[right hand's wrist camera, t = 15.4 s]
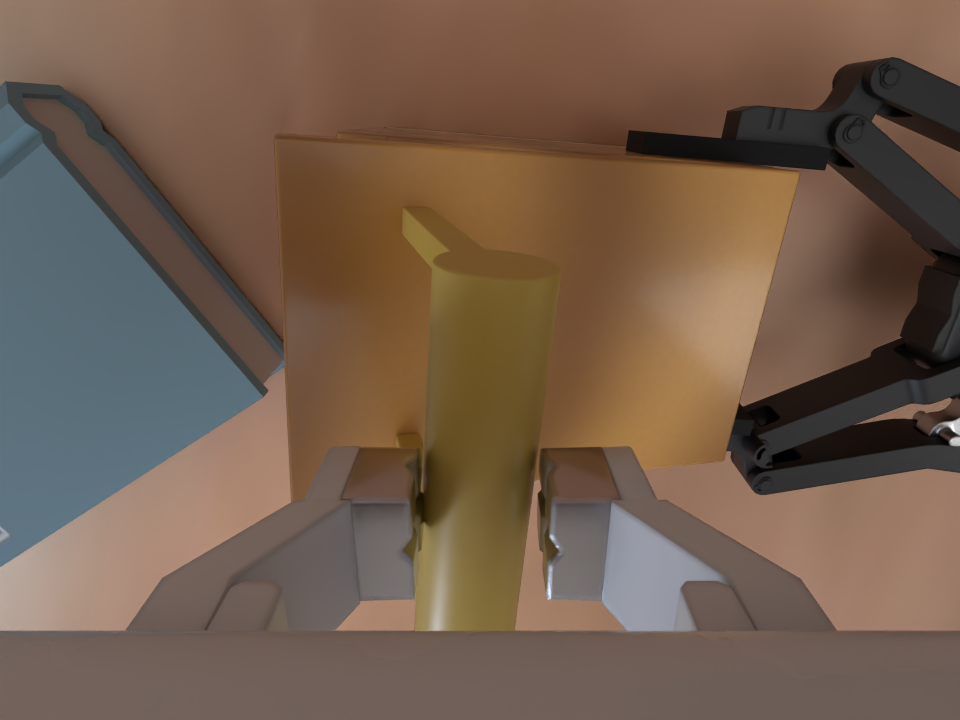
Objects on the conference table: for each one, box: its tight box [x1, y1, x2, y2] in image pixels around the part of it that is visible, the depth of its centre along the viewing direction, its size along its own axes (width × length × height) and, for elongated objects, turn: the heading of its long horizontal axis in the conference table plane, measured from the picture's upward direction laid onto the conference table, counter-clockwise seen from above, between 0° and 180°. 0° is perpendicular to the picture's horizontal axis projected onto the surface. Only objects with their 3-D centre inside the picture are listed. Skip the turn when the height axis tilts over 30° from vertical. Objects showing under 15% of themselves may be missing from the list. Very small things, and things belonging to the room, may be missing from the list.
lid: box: [274, 133, 800, 631], centre depth 15 cm, size 15×10×9 cm
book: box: [0, 82, 285, 567], centre depth 30 cm, size 23×16×5 cm
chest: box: [337, 127, 773, 168], centre depth 25 cm, size 14×10×11 cm
